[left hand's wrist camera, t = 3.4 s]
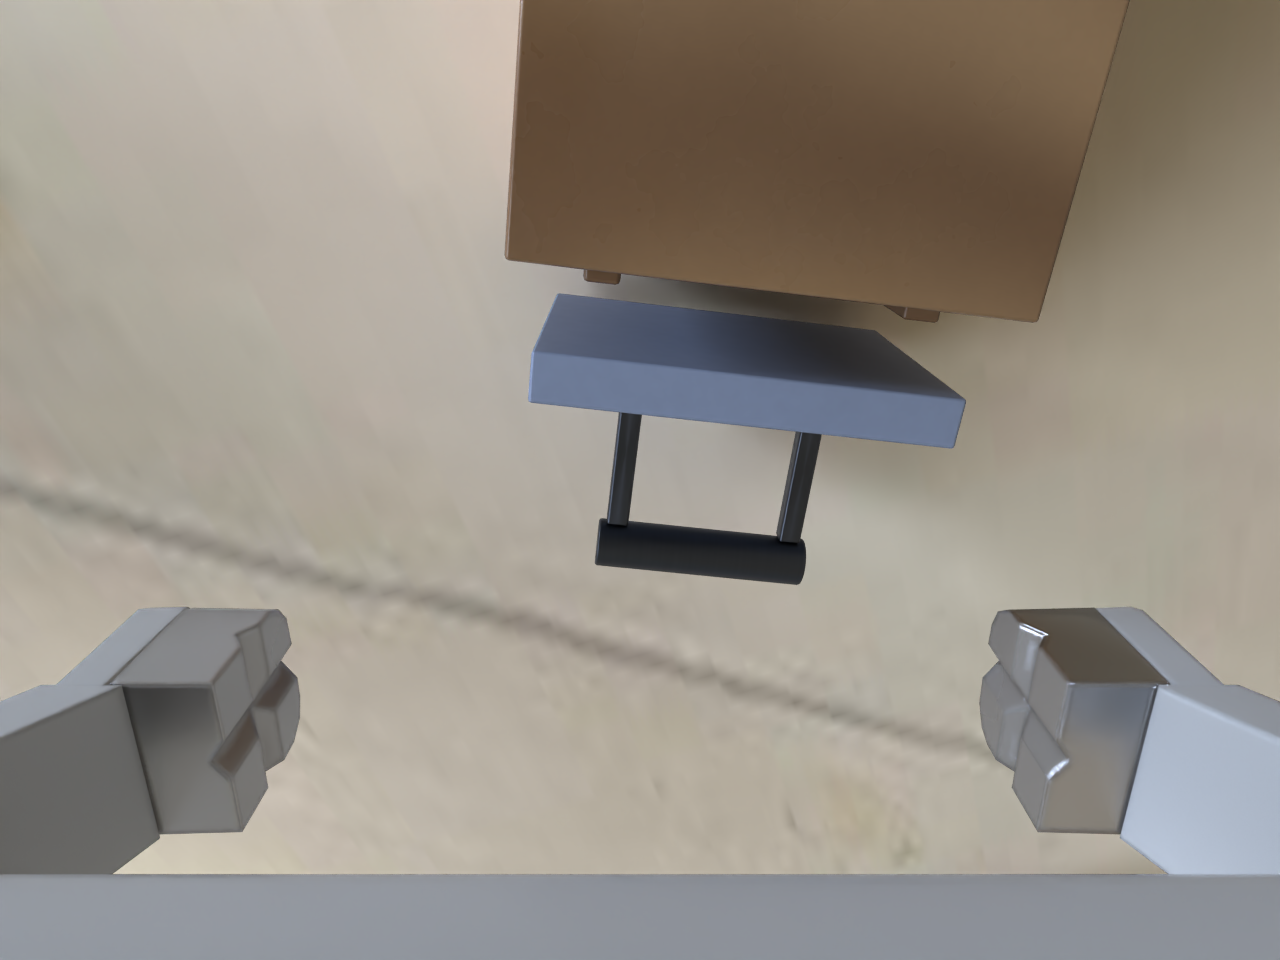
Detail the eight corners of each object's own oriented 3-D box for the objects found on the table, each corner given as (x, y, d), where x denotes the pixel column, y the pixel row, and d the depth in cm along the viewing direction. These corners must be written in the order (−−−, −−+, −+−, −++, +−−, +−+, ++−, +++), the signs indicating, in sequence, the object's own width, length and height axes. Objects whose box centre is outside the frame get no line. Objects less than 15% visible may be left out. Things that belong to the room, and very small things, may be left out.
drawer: (831, 532, 29) (899, 659, 22) (538, 502, 29) (511, 623, 22) (1034, -394, 21) (1253, -677, 13) (620, -464, 20) (618, -799, 13)
